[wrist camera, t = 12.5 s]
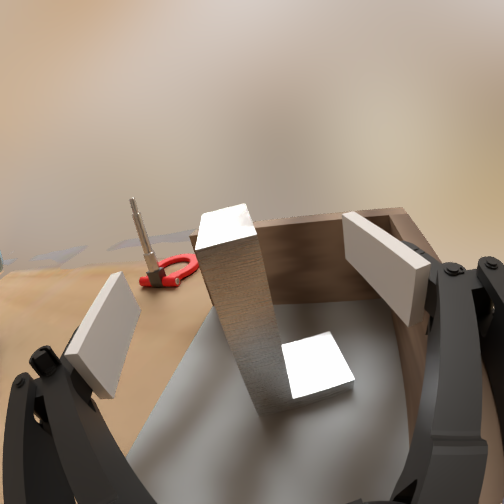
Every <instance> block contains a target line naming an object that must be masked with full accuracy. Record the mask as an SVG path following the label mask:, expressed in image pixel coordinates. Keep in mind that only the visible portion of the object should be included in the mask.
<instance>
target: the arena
mask: <svg viewBox="0 0 504 504" xmlns="http://www.w3.org/2000/svg"><path fill="white" fill-rule="evenodd" d="M350 212H352V211H350ZM354 212H356V213H357V214H359V215H361V216H362V217H364V218H365V219H367V220H369V221H370V222H372V223H373V224H375V225H376V226H378V227H379V228H381V229H383V230H384V231H386V232H387V233H389V234H390V235H392V236H393V237H395V238H396V239H397V240H399V241H403V240H404V241H407V242H410V243H413V244H414V245H416V246H417V247H419V248H420V249H422V250H423V251H425V253H428V254H429V255H430V256H432V257H433V258H435V259H436V260H437V261H439V262H440V263H442V262H441V261H440V259H439V258H438V256H437V255H436V253H435V252H434V250H433V249H432V247H431V246H430V244H429V243H428V241H427V240H426V239H425V237H424V236H423V234H422V233H421V232H420V230H419V229H418V227H417V226H416V225H415V223H414V222H413V221H412V219H411V218H410V216H409V215H408V214H407V212H406V211H405V210H404V209H403V208H402V207H399V208H386V209H374V210H362V211H354ZM344 213H348V212H339V213H330V214H319V215H309V216H300V217H290V218H281V219H272V220H264V221H255V222H252V223H253V225H254V228H255V230H256V233H257V236H258V241H259V245H260V249H261V254H262V258H263V263H264V267H265V272H266V276H267V281H268V285H269V290H270V294H271V299H272V303H273V308H274V312H275V317H276V321H277V326H278V330H279V335H280V339H281V344H282V345H283V344H287V343H291V342H295V341H298V340H302V339H305V338H309V337H312V336H316V335H319V334H322V333H325V332H329V331H330V333H331V335H332V337H333V339H334V341H335V342H336V344H337V346H338V348H339V350H340V352H341V354H342V356H343V358H344V360H345V362H346V364H347V366H348V368H349V369H350V371H351V373H352V375H353V377H354V389H353V390H351V391H348V392H345V393H342V394H339V395H336V396H333V397H330V398H327V399H324V400H321V401H317V402H314V403H311V404H307V405H304V406H300V407H296V408H292V409H289V410H285V411H280V412H276V413H272V414H267V415H263V416H258V414H257V411H256V409H255V407H254V404H253V402H252V400H251V397H250V395H249V393H248V390H247V388H246V386H245V383H244V381H243V378H242V376H241V373H240V371H239V368H238V366H237V363H236V361H235V358H234V356H233V353H232V351H231V348H230V346H229V343H228V341H227V338H226V335H225V333H224V330H223V327H222V325H221V322H220V319H219V317H218V314H217V311H216V308H215V306H214V303H213V300H212V297H211V294H210V292H209V289H208V286H207V283H206V280H205V277H204V274H203V271H202V268H201V265H200V263H199V260H198V257H197V253H196V250H195V249H196V243H197V238H198V233H199V229H196V230H195V231H194V232H193V233H192V234H191V235H190V236H189V237H190V240H191V243H192V246H193V249H194V252H195V255H196V258H197V261H198V264H199V267H200V270H201V273H202V276H203V279H204V282H205V285H206V287H207V290H208V293H209V296H210V299H211V301H212V304H213V307H212V308H211V310H210V312H209V313H208V315H207V317H206V319H205V320H204V322H203V324H202V326H201V327H200V329H199V331H198V332H197V334H196V336H195V338H194V339H193V341H192V343H191V344H190V346H189V348H188V350H187V351H186V353H185V355H184V357H183V358H182V360H181V362H180V363H179V365H178V367H177V369H176V370H175V372H174V374H173V376H172V377H171V379H170V381H169V383H168V384H167V386H166V388H165V389H164V391H163V393H162V395H161V396H160V398H159V400H158V402H157V403H156V405H155V407H154V409H153V410H152V412H151V414H150V416H149V417H148V419H147V421H146V423H145V424H144V426H143V428H142V430H141V431H140V433H139V435H138V437H137V438H136V440H135V442H134V444H133V446H132V447H131V449H130V451H129V453H128V454H127V456H126V460H127V462H128V463H129V465H130V466H131V468H132V469H133V471H134V472H135V474H136V475H137V477H138V478H139V480H140V481H141V482H142V484H143V485H144V487H145V488H146V489H147V491H148V492H149V493H150V495H151V496H152V497H153V499H154V500H155V501H156V502H157V504H347V503H349V502H352V501H355V500H358V499H360V498H361V499H362V501H363V502H368V501H389V500H390V498H391V495H392V493H393V490H394V488H395V485H396V483H397V481H398V479H399V477H400V475H401V473H402V471H403V469H404V466H405V463H406V459H407V456H408V452H409V449H410V445H411V441H412V437H413V433H414V429H415V425H416V420H417V415H418V410H419V405H420V399H421V393H422V387H423V380H424V372H425V363H426V353H427V339H428V335H425V334H426V330H427V325H428V321H429V316H430V314H429V313H428V312H427V311H426V310H425V309H424V314H423V319H422V321H421V322H419V323H417V324H414V325H412V326H410V327H407V325H406V324H405V323H404V322H403V321H402V320H401V319H400V317H399V316H398V315H397V314H396V313H395V312H394V310H393V309H392V308H391V307H390V306H389V305H388V304H387V303H386V301H385V300H384V299H383V298H382V297H381V296H380V295H379V294H378V293H377V292H376V290H375V289H374V288H373V287H372V286H371V285H370V284H369V283H368V282H367V281H366V280H365V279H364V277H363V276H362V275H361V274H360V273H359V272H358V271H357V270H356V269H355V268H354V267H353V266H352V265H351V264H350V263H349V262H348V261H347V260H346V259H345V246H344V234H343V224H342V214H344ZM481 365H482V420H481V438H482V439H484V440H486V441H487V444H488V456H487V463H486V470H485V475H484V480H483V485H482V490H481V494H480V498H479V502H478V504H501V503H503V499H504V445H503V438H502V432H501V426H500V420H499V415H498V410H497V406H496V402H495V397H494V393H493V390H492V386H491V382H490V379H489V375H488V372H487V369H486V366H485V363H484V360H483V357H482V354H481Z"/></svg>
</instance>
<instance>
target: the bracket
mask: <svg viewBox="0 0 504 504" xmlns="http://www.w3.org/2000/svg"><path fill="white" fill-rule="evenodd" d="M195 250H196V253H197V257H198V260H199V263H200V265H201V268H202V271H203V274H204V277H205V280H206V283H207V286H208V289H209V292H210V294H211V297H212V300H213V303H214V306H215V308H216V311H217V314H218V317H219V319H220V322H221V325H222V327H223V330H224V333H225V335H226V338H227V341H228V343H229V346H230V348H231V351H232V353H233V356H234V358H235V361H236V363H237V366H238V368H239V371H240V373H241V376H242V378H243V381H244V383H245V386H246V388H247V390H248V393H249V395H250V397H251V400H252V402H253V404H254V407H255V409H256V411H257V414H258V416H263V415H267V414H272V413H276V412H280V411H285V410H289V409H292V408H296V407H300V406H304V405H307V404H311V403H314V402H317V401H321V400H324V399H327V398H330V397H333V396H336V395H339V394H342V393H345V392H348V391H351V390H353V389H354V377H353V375H352V373H351V371H350V369H349V368H348V366H347V364H346V362H345V360H344V358H343V356H342V354H341V352H340V350H339V348H338V346H337V344H336V342H335V341H334V339H333V337H332V335H331V333H330V331H329V332H325V333H322V334H319V335H316V336H312V337H309V338H305V339H302V340H298V341H295V342H291V343H287V344H283V345H282V344H281V339H280V335H279V330H278V326H277V321H276V317H275V312H274V308H273V303H272V299H271V294H270V290H269V285H268V281H267V276H266V272H265V267H264V263H263V258H262V254H261V249H260V245H259V241H258V236H257V233H256V230H255V228H254V225H253V223H252V220H251V217H250V215H249V212H248V210H247V207H246V205H245V203H244V204H240V205H236V206H232V207H228V208H224V209H220V210H216V211H212V212H209V213H205V214H202V219H201V224H200V228H199V233H198V238H197V243H196V249H195Z"/></svg>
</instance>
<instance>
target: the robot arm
mask: <svg viewBox="0 0 504 504" xmlns="http://www.w3.org/2000/svg"><path fill="white" fill-rule="evenodd" d="M342 224H343V234H344V246H345V259H346V260H347V261H348V262H349V263H350V264H351V265H352V266H353V267H354V268H355V269H356V270H357V271H358V272H359V273H360V274H361V275H362V276H363V277H364V279H365V280H366V281H367V282H368V283H369V284H370V285H371V286H372V287H373V288H374V289H375V290H376V292H377V293H378V294H379V295H380V296H381V297H382V298H383V299H384V300H385V301H386V303H387V304H388V305H389V306H390V307H391V308H392V309H393V310H394V312H395V313H396V314H397V315H398V316H399V317H400V319H401V320H402V321H403V322H404V323H405V324H406V325H407V327H410V326H412V325H414V324H417V323H419V322H421V321H422V319H423V314H424V309H425V310H426V311H427V312H428V313H429V314H430V316H429V321H428V325H427V330H426V334H425V335H428V339H427V353H426V363H425V372H424V380H423V387H422V393H421V399H420V405H419V410H418V415H417V420H416V425H415V429H414V433H413V437H412V441H411V445H410V449H409V452H408V456H407V459H406V463H405V466H404V469H403V471H402V473H401V475H400V477H399V479H398V481H397V483H396V485H395V488H394V490H393V493H392V495H391V498H390V500H389V501H368V502H363V501H362V499H361V498H360V499H358V500H355V501H352V502H349V503H347V504H478V502H479V498H480V494H481V490H482V485H483V480H484V475H485V470H486V463H487V456H488V444H487V441H486V440H484V439H482V438H481V420H482V365H481V354H482V357H483V360H484V363H485V366H486V369H487V372H488V375H489V379H490V382H491V386H492V390H493V393H494V397H495V402H496V406H497V410H498V415H499V420H500V426H501V432H502V438H503V445H504V265H503V263H502V262H501V261H499V260H498V259H496V258H494V257H491V256H489V257H482V258H480V259H479V261H478V267H477V269H473V270H466V269H465V268H464V267H463V266H462V265H459V264H457V263H452V262H448V263H443V264H442V263H440V262H439V261H437V260H436V259H435V258H433V257H432V256H430V255H429V254H428V253H425V251H423V250H422V249H420V248H419V247H417V246H416V245H414V244H413V243H410V242H407V241H404V240H403V241H399V240H397V239H396V238H395V237H393V236H392V235H390V234H389V233H387V232H386V231H384V230H383V229H381V228H379V227H378V226H376V225H375V224H373V223H372V222H370V221H369V220H367V219H365V218H364V217H362V216H361V215H359V214H357V213H356V212H354V211H352V212H348V213H344V214H342ZM2 269H3V259H2V255H1V252H0V272H1V271H2ZM493 307H494V308H493ZM140 312H141V309H140V307H139V305H138V304H137V302H136V300H135V297H134V295H133V293H132V291H131V289H130V287H129V285H128V283H127V281H126V279H125V276H124V274H123V272H122V271H121V272H117V273H114V274H111V275H110V277H109V278H108V280H107V281H106V283H105V285H104V286H103V288H102V289H101V291H100V292H99V294H98V296H97V297H96V299H95V301H94V302H93V304H92V306H91V307H90V309H89V311H88V312H87V314H86V316H85V317H84V319H83V321H82V323H81V324H80V326H79V327H78V328H77V329H76V330H75V331H74V333H73V335H72V337H71V339H70V340H69V342H68V343H69V344H67V346H66V348H65V350H64V352H63V354H62V355H61V357H60V359H59V358H58V357H57V356H56V354H55V353H54V351H53V350H52V349H51V347H50V346H43V347H41V348H39V349H38V350H36V351H35V352H34V353H33V355H32V356H31V358H30V360H29V364H30V365H31V366H32V368H33V369H34V370H35V371H36V373H37V374H38V375H39V376H40V378H37V379H35V380H33V378H32V377H31V376H30V375H29V374H28V373H26V372H25V373H22V374H20V375H18V376H17V377H16V378H15V380H14V382H13V384H12V387H11V392H10V397H9V403H8V409H7V416H6V423H5V432H4V444H3V496H4V504H76V502H75V499H76V501H77V503H78V504H157V502H156V501H155V500H154V499H153V497H152V496H151V495H150V493H149V492H148V491H147V489H146V488H145V487H144V485H143V484H142V482H141V481H140V480H139V478H138V477H137V475H136V474H135V472H134V471H133V469H132V468H131V466H130V465H129V463H128V462H127V460H126V458H125V457H124V455H123V453H122V452H121V450H120V448H119V447H118V445H117V443H116V442H115V440H114V438H113V436H112V434H111V433H110V431H109V429H108V427H107V425H106V423H105V421H104V419H103V417H102V415H101V413H100V411H99V409H98V407H97V405H96V403H95V401H94V400H93V399H92V398H91V395H92V392H94V393H95V394H96V395H97V396H98V397H99V398H100V399H114V396H115V392H116V389H117V385H118V381H119V378H120V374H121V371H122V368H123V364H124V361H125V358H126V354H127V351H128V348H129V345H130V342H131V339H132V336H133V333H134V330H135V327H136V324H137V321H138V318H139V315H140ZM34 414H35V415H36V416H37V417H38V418H39V419H40V423H38V422H37V421H36V420H35V418H34ZM74 496H75V498H74ZM502 504H504V499H503V503H502Z"/></svg>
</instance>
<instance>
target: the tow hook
mask: <svg viewBox="0 0 504 504" xmlns="http://www.w3.org/2000/svg"><path fill="white" fill-rule="evenodd" d="M129 201H130V204H131V208H132V211H133V215H132V216H133V220H134V223H135V226H136V229H137V233H138V236H139V239H140V242H141V245H142V248H143V251H144V258H145V261H146V264H147V267H148V269H149V271H148V272H146V273H147V276H146V277H141V278H140V280H139V283H140V285H141V286H153V287H166V286H179V285H180V280H181V279H182V278H184V277H186V276H188V275H190V274H192V273H193V272H194V271H195V270H197V268H198V267H199V264H198V261H197V258H196V255H195V254H180V255H176V256H172V257H169V258H167V259H164V260H162V261H160V262H158V261H157V258H156V255H155V252H154V251H153V250H152V248H151V245H150V242H149V239H148V235H147V232H146V229H145V226H144V223H143V220H142V216H141V213H140V212H139V211H138V208H137V205H136V201H135V198H131V199H129ZM183 261H186V262H190V263H189V264H188V265H187V266H186V267H185V268H183V269H181V270H179V271H176V272H173V273H171V274H170V275H169V276H166V274H165V271H164V267H166V266H168V265H170V264H173V263H177V262H183Z"/></svg>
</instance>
